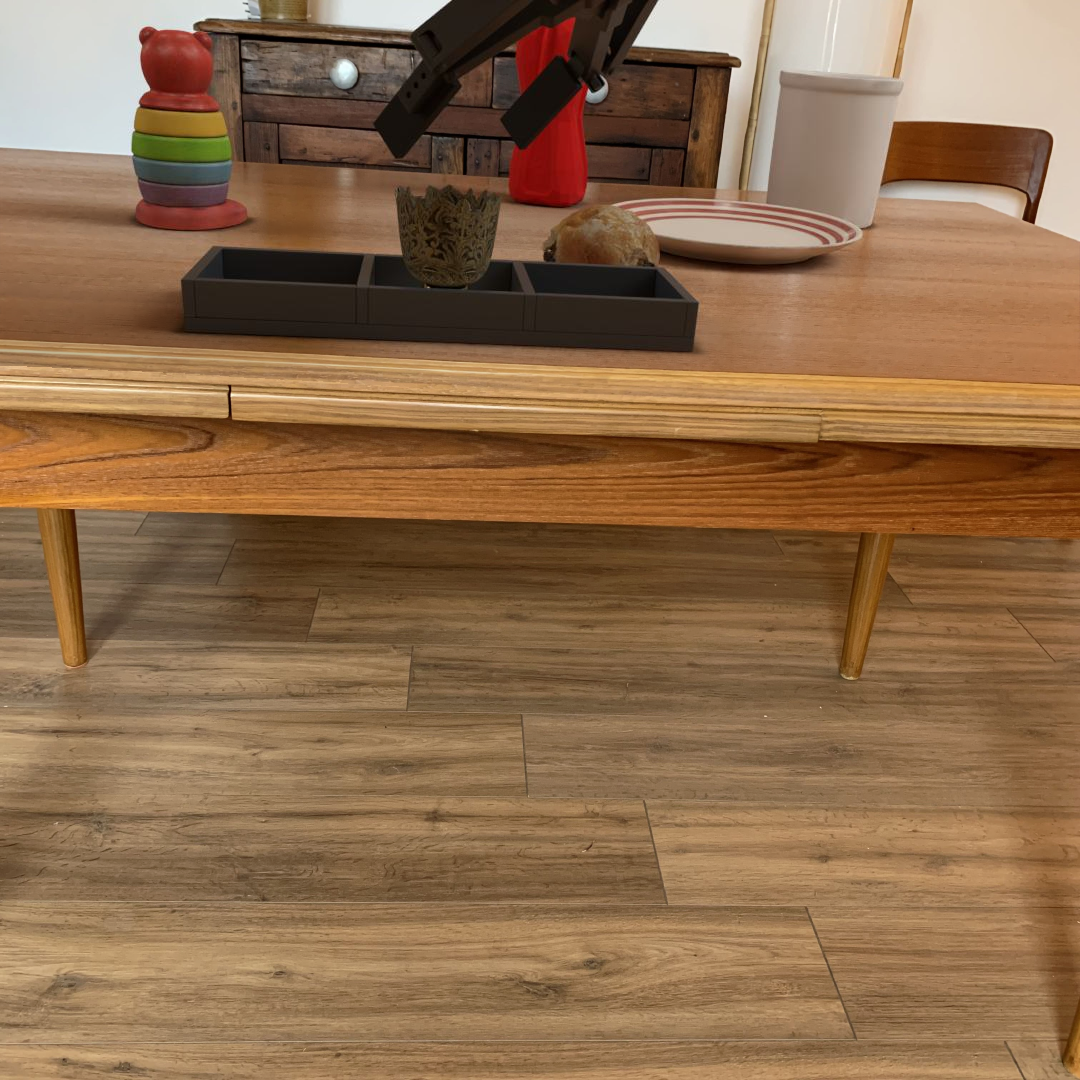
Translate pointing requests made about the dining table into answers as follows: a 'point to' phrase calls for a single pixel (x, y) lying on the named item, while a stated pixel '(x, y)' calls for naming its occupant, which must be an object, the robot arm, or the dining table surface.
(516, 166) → the water bottle
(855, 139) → the utensil holder
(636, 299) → the compartment tray
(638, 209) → the dinner plate
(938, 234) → the dining table surface
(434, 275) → the cup
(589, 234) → the bread roll
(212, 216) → the stacking bear
